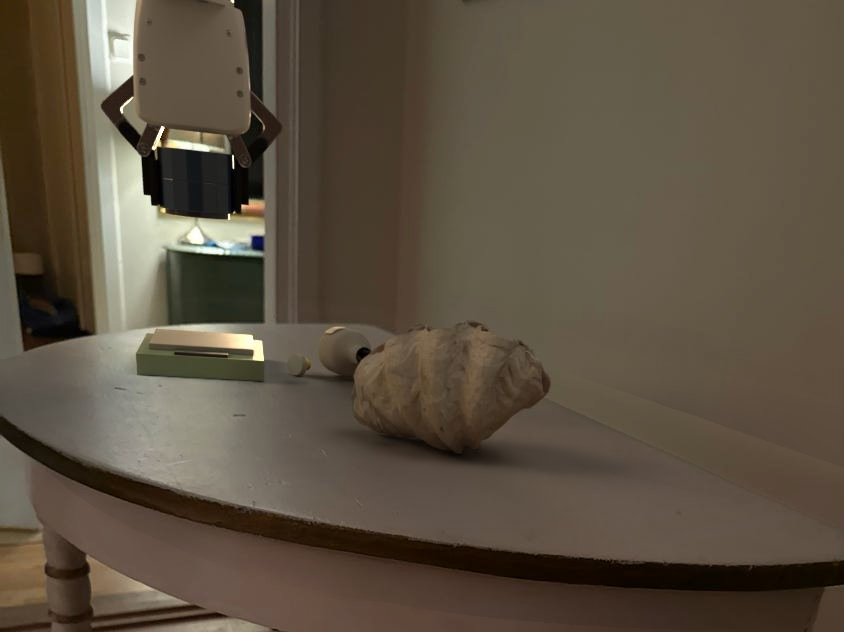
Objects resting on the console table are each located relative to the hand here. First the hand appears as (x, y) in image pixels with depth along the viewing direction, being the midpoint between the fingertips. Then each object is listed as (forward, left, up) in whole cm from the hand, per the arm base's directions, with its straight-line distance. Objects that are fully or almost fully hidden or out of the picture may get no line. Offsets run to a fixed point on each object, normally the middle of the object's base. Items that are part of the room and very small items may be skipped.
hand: (197, 207), depth 87 cm
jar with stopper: (+16, -8, -15) cm, 24 cm away
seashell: (+20, -27, -15) cm, 37 cm away
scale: (0, +1, -15) cm, 15 cm away
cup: (0, 0, -1) cm, 1 cm away
